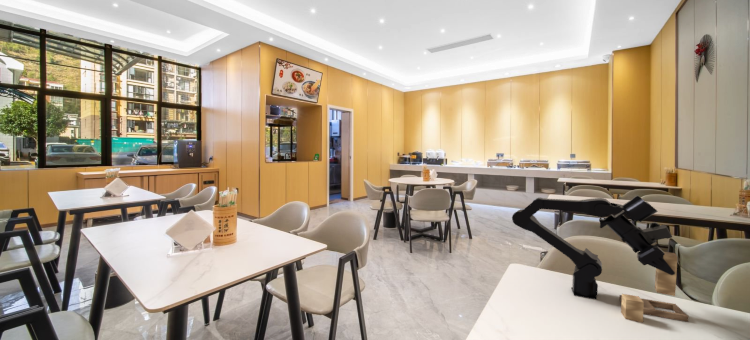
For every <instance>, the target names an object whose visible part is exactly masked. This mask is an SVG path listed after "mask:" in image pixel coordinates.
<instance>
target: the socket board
mask: <svg viewBox="0 0 750 340" xmlns="http://www.w3.org/2000/svg"><path fill="white" fill-rule="evenodd" d="M640 299H641V300H642V301H643V302H644V307H643V315H648V316H649V315H650V316H655V317H660V318H666V319H671V320H675V321H676V320H677V321H682V322H689V315H687V314H686V313H685V312H684V311H683V310H682V309H681V308H680V307H679V306H678V305H677V304H676V303H673V302H672V303H671V302H665V301H659V300H653V299H648V298H647V299H646V298H641V297H640ZM619 302H621V303H622V294H619ZM656 308H660V309H656ZM661 309H662V310H661ZM663 309H666V310H672V312H671V311H666V310H663Z"/></svg>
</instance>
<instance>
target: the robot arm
mask: <svg viewBox="0 0 750 340" xmlns="http://www.w3.org/2000/svg"><path fill="white" fill-rule="evenodd" d="M540 210H550V211H551V210H553V211H562V212H563V211H565V212H578V213H582V214H584V215H588V216H593V217H598V218H599V228H600V229H603V228H604V227H606V226H607V227H608V228H609V229H610V230H611V231H613V233H614V234H616V236H618V237H619V238H620V240H621V241H622V242H623V243H626V245H628V247H630V248H631V249H632V251H633V252H634V253H635V254H636V258H637V261H638V262H639V263H640V264H642V265H643V266H646V265H647V266H650V267H653V268H655V269H656V268H657V269H659V270H661V271H664V272H666V273H668V274H670V275H674V274H675V272H674V271H673V270H672V268H671V267H670V266H669V265H668V263H667V262H666V261H665V260H664V258H663V256H664V254H665V253H664V252H665V251H664V250H663V249H662V248H660V245H659V243H657V241H658V240H663V239H672V238H673V235H672V233H671V232H670V230H669V228H668V226H667V225H666V224H661V225H660V224H658V223H657V222H656V221H654V222H650V223H649V227H646V228H644V229H642V228H641V227H640V226H636V225H635V224H634V223H633V222H639V223H642V222H643V221H645V220H646V219H648V218H650V217H651V216H653V215H655V214H656V213H657V212H658V210H657V209H656V208H655V207H654V206H652V204H650V203H649V202H648V201H645V200H644V199H643V198H641V196H639V195H635V196H633V197H632V198H631V199H630V200H628V201H627V202H626V203H624V204H621V203H620V204H619V203H614V202H611V201H609V200H607V199H606V198H603V197H597V198H585V199H580V200H579V199H561V198H559V199H558V198H543V197H536V198H535V199H533V201H532V202H531V203H530V204H528V205H527V206H526V207H525V208H522V209H518V210H517V211H515V212H514V213H513V214H512V217H511V219H512V220H511V221H512V223H513V224H514V225H515V226H517V227H519V228H521V229H522V230H525V231H527V232H531V233H533V234H535V235H537V237H539V238H540V239H542V240H543V241H545V242H546V243H547V244H549V245H551V247H553V248H555V249H556V250H557V251H559V252H561V253H562V254H563V255H564V256H566V257H567V258H569V259H570V261H571V262H572V263H573V264H574V270H573V273H572V287H571V291H572V295H573V296H575V297H580V298H587V299H592V300H597V299H598V298H597V297H598V289H599V288H598V287H599V285H598V283H597V280H596V277H599V276H600V275H601V274H602V272H603V264H602V261H601V259H600V258H599V257H598V256H599V254H595V253H593V252H592V251H591V250H590V249H588V248H586V247H585V249H584V250H581V249H579V248H577V247H575V246H574V245H572V244H571V243H570V242H568V241H567V240H565V239H564V238H562V237H560V236H559V235H558V234H557V233H555V232H554V231H552V230H551V229H549V228H548V227H546V226H544V225H543V224H542V223H540V221H539V220H538V219H537V218H536V217H535V216H534V215H535V214H536V213H538V212H539V211H540ZM625 215H626V216H627V217H626V216H625ZM629 219H630V220H631V221H630V220H629ZM632 221H633V222H632ZM655 243H656V244H655Z"/></svg>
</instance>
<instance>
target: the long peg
mask: <svg viewBox="0 0 750 340" xmlns="http://www.w3.org/2000/svg"><path fill="white" fill-rule="evenodd" d="M663 252H664V253H665V254H664V256H663V258H664V260H665V261H666V262H667V263H668V265H669V266H670V267H671V268H672V270H673V271H674V272H675V274H674V275H670V274H668V273H666V272H664V271H661V270H659V269H657V268H655V275H654V289H655V292H656V293H659V294H664V295H668V296H673V297H675V296H676V287H677V286H676V285H677V274H678V273H677V270H678V269H677V268H678V256H677V254H676V253H675V252H669V251H663Z"/></svg>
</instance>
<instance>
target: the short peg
mask: <svg viewBox="0 0 750 340" xmlns="http://www.w3.org/2000/svg"><path fill="white" fill-rule="evenodd" d="M621 295H622V303H621V307H620V313H621V315H622V316H623V319H625V320H629V321H633V322H639V323H643V322H644V314H643V307H644V302H643V301H642V300H641V299H640V298H641V297H640V296H637V295H633V294H632V295H631V294H626V293H621Z"/></svg>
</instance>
